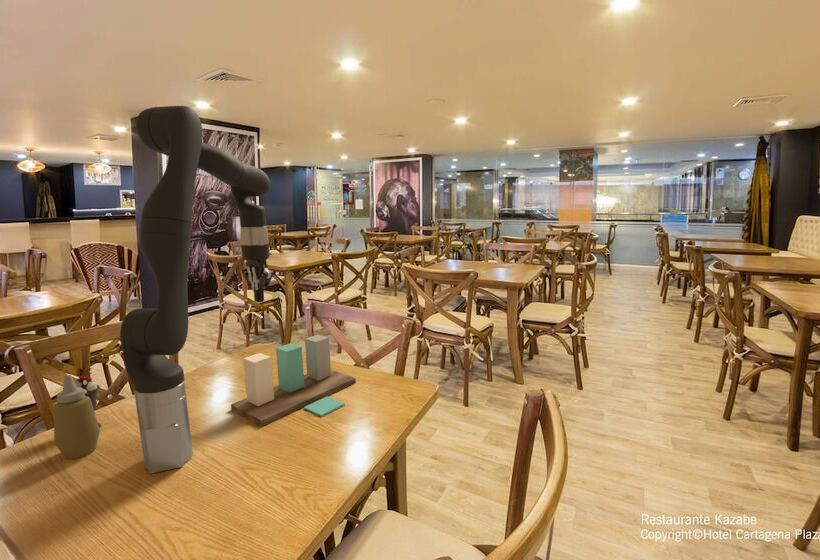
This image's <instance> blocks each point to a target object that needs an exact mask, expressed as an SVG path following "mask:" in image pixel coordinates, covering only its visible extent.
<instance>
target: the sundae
mask: <svg viewBox="0 0 820 560" xmlns="http://www.w3.org/2000/svg"><path fill="white" fill-rule="evenodd" d="M91 370H92V368H91V367H88V368H87V370H86V372H85V373H84V374H83V375H81V376H79V378H78V379H75V381H74V382H75V384H76V387H80V388H83V389H84V396H87V397H89V398H90V399H91V402H92V406H93V409H94V412H95V411H96V409H97V393H98V390H99V389H101V387H100V386H101V385H99V384H97V383H96V382H95V381H93V377H91V376H90V375H89V373H90V371H91ZM86 374H87V377H86ZM98 426H99V429H100V428H101V427H102V424H101V423H100V422H98Z"/></svg>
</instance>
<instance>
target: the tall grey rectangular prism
mask: <svg viewBox="0 0 820 560" xmlns="http://www.w3.org/2000/svg"><path fill="white" fill-rule="evenodd" d="M304 345H305V346H304V348H305V362H306V365H305V366H306V374H307V377H309V378H312V379H314V380H317V381H319V380H321V379H324V378H326V377H328V376H331V370H332V369H331V352H330V351H331V350H330V336H329V337H328V336H325V335H321V334H316V335H312V336H309V337H306V338H304Z"/></svg>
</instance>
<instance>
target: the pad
mask: <svg viewBox="0 0 820 560" xmlns="http://www.w3.org/2000/svg"><path fill="white" fill-rule="evenodd" d="M345 405H346V404H345V403H344V402H342V401H340V400H338V399H334V398H333V397H330V396H329V395H328V396H326V397H324V398H322V399H320V400H317V401H315V402H313V403H311V404H309V405H307V406H304V407H303V410H305V411H307V412H310V413H312V414H314V415H317V416H318V417H321V418H322V417H324V416H327V415H328V414H330V413H332V412H334V411H336V410H338V409H340V408H341V407H344V406H345Z"/></svg>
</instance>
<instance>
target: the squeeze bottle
mask: <svg viewBox="0 0 820 560" xmlns="http://www.w3.org/2000/svg"><path fill="white" fill-rule="evenodd" d="M63 376H64V377H63V386H62V390H60V391H59V392H57V394H56V398H57V402H56V403H55V405H54V406H53V407H52V409H53V410H52V411H53V429H54V430H53V432H54V437H53V439H54V444H55V446H56V448H57V449H58V450H59V451H60V453H61V455H63V457H64V459H69V460H70V459H77V458H78V459H79V458H82V457H85V456H87V455H89V454H91V453H93V452H94V451H95V450H96V448H97V445H98V441H99V437H100V433H101V430H100V428H99V426H98V423H99V422H98V419H97V416H96V413H95V411H94V409H93V406H92V402H91V399H90V398H89V397H87V396H84V389H83V388H80V387H76V384H75V381H74V379H73V376H72V374H67V375H63Z"/></svg>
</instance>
